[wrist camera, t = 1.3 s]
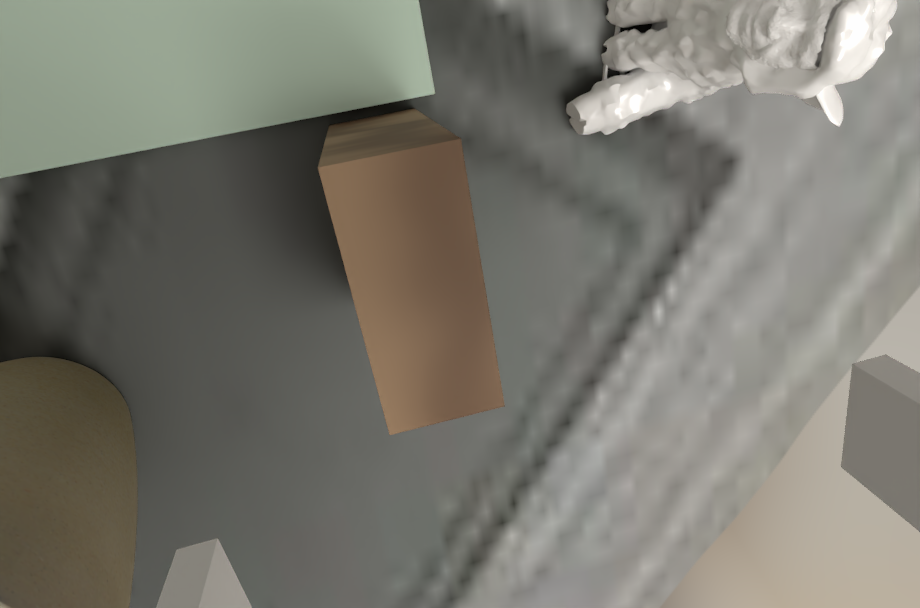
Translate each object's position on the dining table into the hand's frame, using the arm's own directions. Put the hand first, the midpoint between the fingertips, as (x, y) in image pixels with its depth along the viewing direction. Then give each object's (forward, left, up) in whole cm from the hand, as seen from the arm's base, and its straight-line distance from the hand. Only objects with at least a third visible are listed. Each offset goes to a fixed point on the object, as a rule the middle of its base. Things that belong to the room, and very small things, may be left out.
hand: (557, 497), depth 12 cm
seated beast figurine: (+12, +8, -20) cm, 25 cm away
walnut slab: (-2, +2, -20) cm, 20 cm away
